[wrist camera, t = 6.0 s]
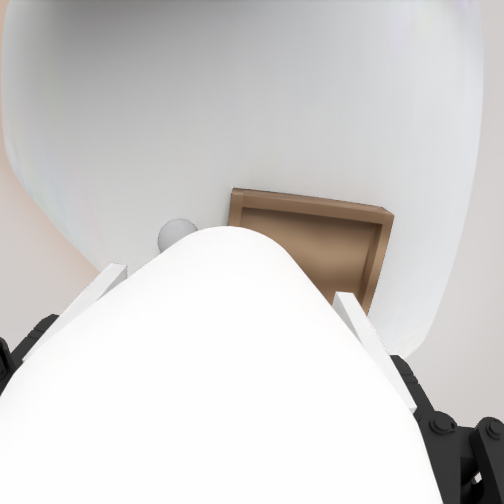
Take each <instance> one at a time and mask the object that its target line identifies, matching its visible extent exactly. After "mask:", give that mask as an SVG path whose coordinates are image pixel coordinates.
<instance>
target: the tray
mask: <svg viewBox="0 0 504 504" xmlns="http://www.w3.org/2000/svg"><path fill="white" fill-rule="evenodd" d="M393 219H394V215H393V214H392V213H390V212H389V211H387V210H386V209H384V208H383V207H378V206H371V205H365V204H359V203H352V202H346V201H339V200H332V199H325V198H317V197H310V196H302V195H294V194H286V193H277V192H269V191H259V190H250V189H240V188H233V190H232V194H231V204H230V215H229V226H233V227H241V228H245V229H250V230H253V231H256V232H258V233H261V234H263V235H265V236H267V237H268V238H270V239H272V240H273V241H275V242H276V243H278V244H279V245H280V246H281V247H282V248H284V249H285V250H286V252H287V253H288V254H289V255H290V256H291V257H292V258H293V260H294V261H295V262H296V263H297V264H298V266H299V267H300V268H301V269H302V271H303V272H304V273H305V274H306V275H307V277H308V278H309V279H310V280H311V282H312V283H313V284H314V285H315V287H316V288H317V289H318V290H319V292H320V293H321V294H322V295H323V296H324V298H325V299H326V300H327V301H328V303H329V304H330V305H331V306H332V304H333V301H334V297H335V293H336V291H337V292H347V293H353V294H354V296H355V298H356V299H357V301H358V303H359V304H360V306H361V308H362V309H363V311H364V313H365V314H366V316H367V315H368V312H369V308H370V305H371V302H372V299H373V295H374V292H375V289H376V285H377V282H378V278H379V275H380V271H381V268H382V264H383V260H384V256H385V253H386V249H387V245H388V241H389V237H390V232H391V228H392V224H393Z"/></svg>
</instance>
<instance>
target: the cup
mask: <svg viewBox="0 0 504 504" xmlns="http://www.w3.org/2000/svg"><path fill="white" fill-rule="evenodd" d="M0 504H443V502H442V499H441V495H440V492H439V489H438V486H437V483H436V480H435V477H434V474H433V471H432V467H431V464H430V460H429V457H428V454H427V450H426V447H425V444H424V441H423V438H422V435H421V432H420V429H419V426H418V423H417V422H416V420H415V418H414V417H413V415H412V413H411V412H410V410H409V408H408V407H407V405H406V403H405V402H404V400H403V399H402V397H401V396H400V394H399V393H398V392H397V390H396V389H395V388H394V386H393V385H392V384H391V382H390V381H389V380H388V378H387V377H386V376H385V374H384V373H383V372H382V370H381V369H380V368H379V366H378V365H377V364H376V362H375V361H374V360H373V359H372V357H371V356H370V355H369V353H368V352H367V351H366V349H365V348H364V347H363V346H362V344H361V343H360V342H359V340H358V339H357V338H356V337H355V335H354V334H353V333H352V332H351V330H350V329H349V328H348V327H347V325H346V324H345V323H344V321H343V320H342V319H341V318H340V316H339V315H338V314H337V313H336V311H335V310H334V309H333V308H332V306H331V305H330V304H329V303H328V301H327V300H326V299H325V298H324V296H323V295H322V294H321V293H320V292H319V290H318V289H317V288H316V287H315V285H314V284H313V283H312V282H311V280H310V279H309V278H308V277H307V275H306V274H305V273H304V272H303V271H302V269H301V268H300V267H299V266H298V264H297V263H296V262H295V261H294V260H293V258H292V257H291V256H290V255H289V254H288V253H287V252H286V250H285V249H284V248H282V247H281V246H280V245H279V244H278V243H276V242H275V241H273V240H272V239H270V238H268V237H267V236H265V235H263V234H261V233H258V232H256V231H253V230H250V229H245V228H241V227H233V226H218V227H211V228H206V229H202V230H199V231H196V232H194V233H191V234H189V235H187V236H185V237H184V238H182V239H181V240H179V241H178V242H176V243H175V244H173V245H172V246H171V247H169V248H168V249H166V250H165V251H164V252H162V253H161V254H159V255H158V256H157V257H155V258H154V259H153V260H151V261H150V262H148V263H147V264H146V265H144V266H143V267H142V268H140V269H139V270H137V271H136V272H135V273H133V274H132V275H131V276H129V277H128V278H127V279H125V280H124V281H123V282H121V283H120V284H119V285H117V286H116V287H115V288H113V289H112V290H111V291H109V292H108V293H107V294H105V295H104V296H103V297H101V298H100V299H99V300H98V301H96V302H95V303H94V304H92V305H91V306H90V307H89V308H87V309H86V310H85V311H83V312H82V313H81V314H80V315H78V316H77V317H76V318H75V319H73V320H72V321H71V322H70V323H68V324H67V325H66V326H65V327H63V328H62V329H61V330H60V331H58V332H57V333H56V334H55V335H54V336H52V337H51V338H50V339H49V340H48V341H46V342H45V343H44V344H43V345H42V346H40V347H39V348H38V349H37V350H36V351H35V352H34V353H33V354H32V355H31V356H30V357H29V358H28V359H27V360H26V361H25V362H24V363H23V364H22V365H21V366H20V367H19V368H18V369H17V371H16V372H15V373H14V375H13V376H12V378H11V379H10V381H9V383H8V384H7V386H6V387H5V389H4V391H3V393H2V394H1V396H0Z"/></svg>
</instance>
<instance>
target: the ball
mask: <svg viewBox="0 0 504 504" xmlns="http://www.w3.org/2000/svg"><path fill="white" fill-rule="evenodd" d="M196 231H198V229H197V228H196V227H195V226H194V225H193V224H192V223H191V222H189V221H187V220H184V219H175V220H172V221H170V222H168V223H167V224H165V225H164V226H163V228H162V229H161V231H160V233H159V237H158V245H159V249H160V251H161V252H164V251H165V250H166V249H168V248H169V247H171V246H172V245H173V244H175V243H176V242H178V241H179V240H181V239H182V238H184V237H185V236H187V235H189V234H191V233H194V232H196Z"/></svg>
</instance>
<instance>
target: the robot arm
mask: <svg viewBox="0 0 504 504" xmlns="http://www.w3.org/2000/svg"><path fill="white" fill-rule="evenodd" d="M125 279H127V265H121V264H115V263H110V264H109V265H108V266H107V267H106V268H105V269H104V270H103V271H102V272H101V273H100V274H99V275H98V276H97V277H96V278H95V279H94V280H93V281H92V282H91V283H90V284H89V285H88V286H87V287H86V288H85V289H84V291H82V292H81V294H80V295H79V296H78V297H77V298H76V299H75V300H74V301H73V302H72V303H71V304H70V305H69V307H67V309H66V310H65V311H64V312H63V313H62V314H61V315H60V316H59V315H55V314H52V315H50V316H48V317H46V318H44V319H42V320H41V321H40V322H39V323H38V324H37V325H36V327H34V330H32V331H31V332H30V333H29V334H28V336H27V337H25V338H24V339H23V340H22V342H21V343H20V344H19V345H18V346H17V347H16V348H15V349H14V351H13V352H12V353H11V354H10V351H9V348H8V345H7V343H6V342H5V340H4V339H3V338H1V337H0V396H1V394H2V393H3V391H4V389H5V387H6V386H7V384H8V383H9V381H10V379H11V378H12V376H13V375H14V373H15V372H16V371H17V369H18V368H19V367H20V366H21V365H22V364H23V363H24V362H25V361H26V360H27V359H28V358H29V357H30V356H31V355H32V354H33V353H34V352H35V351H36V350H37V349H38V348H39V347H40V346H42V345H43V344H44V343H45V342H46V341H48V340H49V339H50V338H51V337H52V336H54V335H55V334H56V333H57V332H58V331H60V330H61V329H62V328H63V327H65V326H66V325H67V324H68V323H70V322H71V321H72V320H73V319H75V318H76V317H77V316H78V315H80V314H81V313H82V312H83V311H85V310H86V309H87V308H89V307H90V306H91V305H92V304H94V303H95V302H96V301H98V300H99V299H100V298H101V297H103V296H104V295H105V294H107V293H108V292H109V291H111V290H112V289H113V288H115V287H116V286H117V285H119V284H120V283H121V282H123V281H124V280H125ZM332 308H333V309H334V310H335V311H336V313H337V314H338V315H339V316H340V318H341V319H342V320H343V321H344V323H345V324H346V325H347V327H348V328H349V329H350V330H351V332H352V333H353V334H354V335H355V337H356V338H357V339H358V340H359V342H360V343H361V344H362V346H363V347H364V348H365V349H366V351H367V352H368V353H369V355H370V356H371V357H372V359H373V360H374V361H375V362H376V364H377V365H378V366H379V368H380V369H381V370H382V372H383V373H384V374H385V376H386V377H387V378H388V380H389V381H390V382H391V384H392V385H393V386H394V388H395V389H396V390H397V392H398V393H399V394H400V396H401V397H402V399H403V400H404V402H405V403H406V405H407V407H408V408H409V410H410V412H411V413H412V415H413V417H414V418H415V420H416V422H417V423H418V426H419V429H420V432H421V435H422V438H423V441H424V444H425V447H426V450H427V454H428V457H429V460H430V464H431V467H432V471H433V474H434V477H435V480H436V483H437V486H438V489H439V492H440V495H441V499H442V502H443V504H504V424H503V423H502V422H501V421H500V420H498V419H495V418H493V417H485V418H483V419H482V420H481V421H479V423H478V424H477V425H476V427H475V428H471V427H461V426H457V423H456V422H455V421H454V420H453V418H451V417H450V416H449V415H447V414H446V413H443V412H440V411H434V409H433V407H432V405H431V403H430V401H429V399H428V398H427V396H426V394H425V392H424V391H423V389H422V387H421V386H420V384H418V380H417V379H416V377H415V376H413V372H412V370H411V369H410V367H409V365H408V364H407V363H406V362H405V361H404V360H403V359H402V358H400V357H399V356H398V355H389V354H388V352H387V351H386V349H385V347H384V345H383V344H382V342H381V340H380V338H379V337H378V335H377V333H376V331H375V330H374V328H373V326H372V324H371V323H370V321H369V319H368V318H367V316H366V314H365V313H364V311H363V309H362V308H361V306H360V304H359V303H358V301H357V299H356V298H355V296H354V294H353V293H347V292H337V291H336V293H335V297H334V301H333V304H332ZM479 472H480V474H481V478H482V479H481V480H480V481H479V482H478V483H477V482H476V480H475V478H474V477H475V476H476V475H477V474H478V473H479Z"/></svg>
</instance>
